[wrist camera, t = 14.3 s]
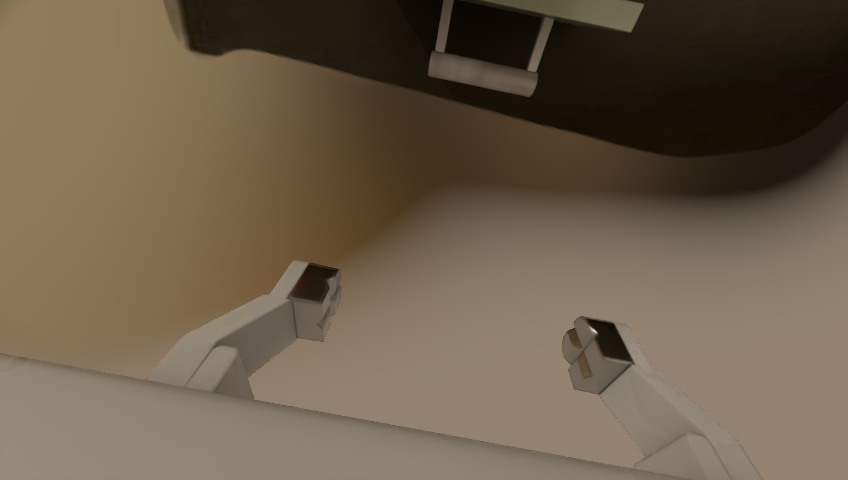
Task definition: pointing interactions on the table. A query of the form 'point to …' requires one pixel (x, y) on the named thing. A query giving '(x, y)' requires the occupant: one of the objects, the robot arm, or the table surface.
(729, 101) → the table surface
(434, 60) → the drawer
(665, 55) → the table surface
